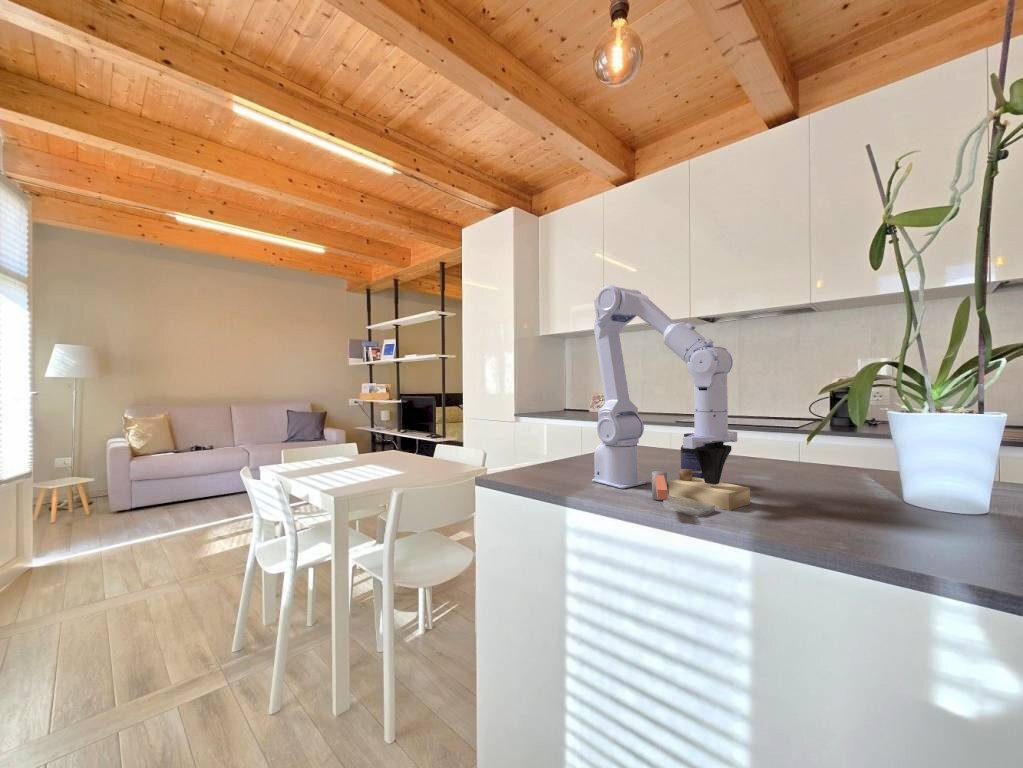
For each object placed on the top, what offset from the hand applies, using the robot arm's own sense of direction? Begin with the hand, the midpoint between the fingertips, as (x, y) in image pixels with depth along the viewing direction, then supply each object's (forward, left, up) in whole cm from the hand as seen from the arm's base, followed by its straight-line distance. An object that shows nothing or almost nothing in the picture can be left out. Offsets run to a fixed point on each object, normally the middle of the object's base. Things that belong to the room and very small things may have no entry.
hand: (711, 483), depth 82 cm
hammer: (-4, -10, -3) cm, 11 cm away
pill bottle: (-11, +11, -4) cm, 16 cm away
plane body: (-2, +1, -4) cm, 4 cm away
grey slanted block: (0, -7, -2) cm, 7 cm away
